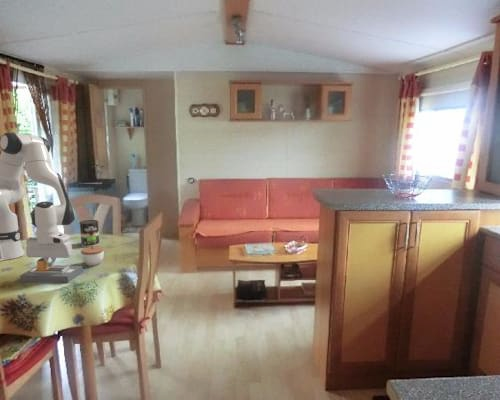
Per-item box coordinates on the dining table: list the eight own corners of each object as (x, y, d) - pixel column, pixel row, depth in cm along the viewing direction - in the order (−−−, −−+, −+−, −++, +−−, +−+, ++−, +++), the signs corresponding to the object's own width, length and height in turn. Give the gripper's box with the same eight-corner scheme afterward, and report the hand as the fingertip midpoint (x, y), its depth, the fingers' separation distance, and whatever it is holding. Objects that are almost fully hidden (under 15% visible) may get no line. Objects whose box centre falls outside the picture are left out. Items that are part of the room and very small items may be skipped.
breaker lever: (37, 271, 169) (36, 260, 168) (43, 268, 173) (41, 257, 172) (44, 271, 169) (43, 260, 168) (49, 268, 173) (48, 257, 172)
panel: (20, 281, 165) (19, 272, 164) (38, 271, 178) (37, 262, 177) (68, 282, 164) (67, 273, 163) (82, 271, 177) (82, 263, 176)
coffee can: (101, 245, 219) (99, 222, 216) (82, 248, 213) (80, 224, 211) (98, 241, 227) (96, 218, 225) (79, 243, 222) (78, 221, 219)
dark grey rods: (47, 269, 180) (46, 266, 180) (50, 267, 183) (50, 264, 183) (80, 270, 179) (80, 267, 179) (83, 267, 182) (83, 265, 182)
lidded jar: (78, 263, 188) (77, 246, 186) (98, 258, 196) (97, 241, 194) (88, 269, 181) (86, 250, 179) (108, 263, 189) (107, 246, 187)
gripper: (21, 239, 165) (24, 268, 167) (65, 239, 164) (68, 269, 167) (30, 235, 171) (33, 263, 174) (73, 235, 170) (75, 264, 173)
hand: (50, 266), depth 170 cm, fingers closed
